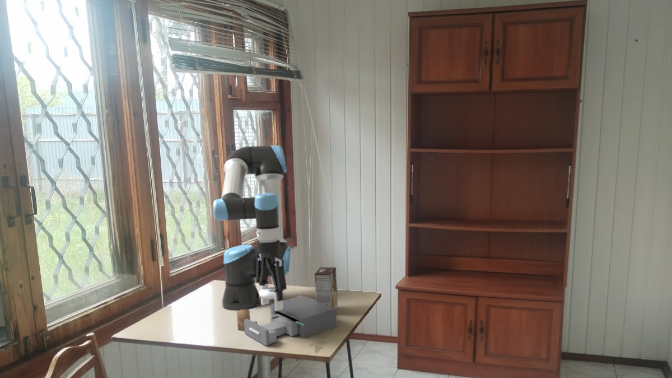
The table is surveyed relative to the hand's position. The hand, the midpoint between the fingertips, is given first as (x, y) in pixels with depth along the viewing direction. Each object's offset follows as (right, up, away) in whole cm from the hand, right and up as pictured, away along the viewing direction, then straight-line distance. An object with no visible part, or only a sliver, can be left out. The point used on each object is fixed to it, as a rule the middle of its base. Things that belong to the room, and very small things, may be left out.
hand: (272, 306), depth 166 cm
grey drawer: (0, -9, +1) cm, 9 cm away
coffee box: (+18, -7, +21) cm, 29 cm away
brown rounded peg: (-11, -9, +8) cm, 16 cm away
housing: (+10, -8, +9) cm, 16 cm away
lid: (0, +4, 0) cm, 4 cm away
